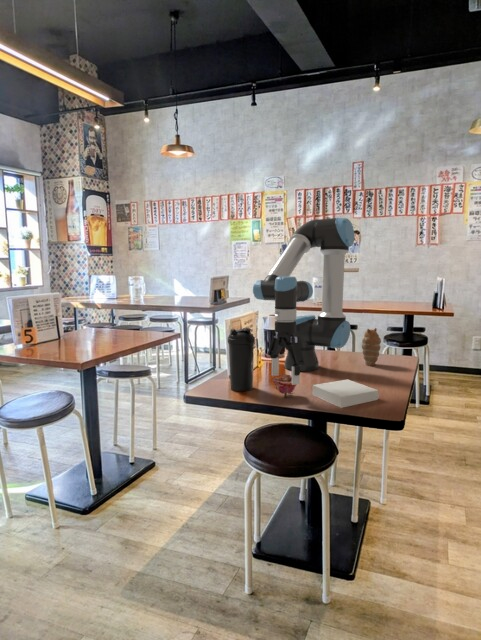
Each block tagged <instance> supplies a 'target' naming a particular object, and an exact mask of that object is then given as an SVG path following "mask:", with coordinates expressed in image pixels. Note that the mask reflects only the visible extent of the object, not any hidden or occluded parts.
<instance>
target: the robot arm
mask: <svg viewBox="0 0 481 640" xmlns="http://www.w3.org/2000/svg"><path fill="white" fill-rule="evenodd" d="M288 243H289V244H287V246H286V248H285V249H284V251H283V252H282V254H281V255H280V256H279V258H278V260H277V261H276V262H275V264H274V265H273V267H272V268H270V269H271V270H270V271H269V272H268V274H267V275H266V277H265V279H260V280H256V281H254V283H253V286H252V294H253V297H254V298H255V299H257V300H259V301H274V319H275V321H274V331H273V332H272V336H271V337H272V338H271V341H270V345H269V347H268V351H267V355H268V356H270V357H269V358H271V360H270V361H271V376H272V377H275V376H276V377H277V376H279V375H280V358H279V357H280V356H279V355H280V352H281V351H282V350H283V348H284V349H286V350H287V353H286V357H285V361H284V368H285V369H286V370H290V371H291V377H292V385H296V384H297V385H300V380H301V379H300V377H301V372H312V371H315V370H318V369H320V368H319V367H320V366H319V359H318V357H317V354H316V347H323V348H331V349H341V348H344V347H345V346H346V345H347V343H348V340H349V338H350V334H351V323H350V322H349V320H346V319H347V317H346V315H345V313H344V312H343V304H344V299H343V298H344V280H345V279H344V278H345V259H346V258H345V257H346V254H347V253H349V250H350V249H349V248H350V247H353V245H354V244H355V230H354V226H353V224H352V222H351V220H350V219H349V218H346V217H333V218H320V219H319V218H318V219H317V218H315V219H312V220H308V221H307V222H305V223H304V224H302V225H300V226H299V228H296V230H295V231H294V232H293V234H291V236H290V237H289V241H288ZM312 248H320V252H321V253H322V254H323V265H322V266H323V267H322V269H323V271H322V295H321V296H322V298H321V311H320V313H319V314H318V315H317V317H316V315H314V314H307V315H306V314H305V315H299V316H297V303H299V302H306V301H309V300H310V299H311V298H312V296H313V294H314V289H313V286H312V284H311V283H310V282H309V281H308V280H307V281H306V280H297V277H296V276H291V275H292V273H293V272H294V271H295V268H296V267H297V265H298V264H299V262H300V260H301V259H302V257H303V256H304V255H305V254H306V253H308V252H309V251H310V250H311V249H312ZM297 385H296V386H297Z"/></svg>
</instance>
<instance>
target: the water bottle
mask: <svg viewBox="0 0 481 640" xmlns="http://www.w3.org/2000/svg"><path fill="white" fill-rule="evenodd" d="M251 331H252V329H251V328H249V327H245V328H241V329H235V328H230V331H229V332H230V333H229V335H228V337H227V343H228V356H229V357H228V359H229V378H230V379H229V380H230V389H231V391H234V392H247V391H251V390H253V388H254V386H253V383H254V350H255V349H254V348H255V347H254V344H255V342H256V341H255V340H256V339H255V336H254V334H253V333H252V332H251Z"/></svg>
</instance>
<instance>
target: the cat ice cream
mask: <svg viewBox="0 0 481 640" xmlns="http://www.w3.org/2000/svg"><path fill="white" fill-rule="evenodd" d="M366 329H367V330H366V331H365V332H364V337H363V338H362V345H361V348H362V354H363V359H364V361H365V365H366V366H367V367H374V366H376V363H377V362H378V359H379V357H380V350H381V342H382V340H381V338H380V335H379V333H378V332H377V329H378V328H376V327H375V328H373V329H369V328H366Z"/></svg>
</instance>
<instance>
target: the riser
mask: <svg viewBox="0 0 481 640" xmlns="http://www.w3.org/2000/svg"><path fill="white" fill-rule="evenodd" d="M312 396H314V397H315V398H319V399H321V400H323V401H324V402H327V403H329V404H332V405H333V406H336V407H338V408H341V409H342V408H347V407H350V406H356V405H359V404H364V403H369V402H374V401H377V400H379V390H378V389H375V388H373V387H370V386H367V385H365V384H362V383H359V382H357V381H353V380H350V379H348V378H347V379H342V380H336V381H329V382H323V383H317V384H312Z"/></svg>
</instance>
